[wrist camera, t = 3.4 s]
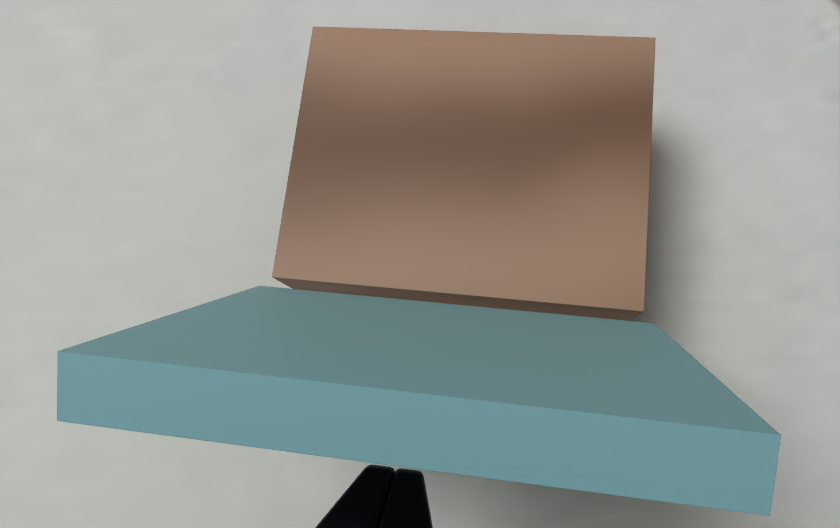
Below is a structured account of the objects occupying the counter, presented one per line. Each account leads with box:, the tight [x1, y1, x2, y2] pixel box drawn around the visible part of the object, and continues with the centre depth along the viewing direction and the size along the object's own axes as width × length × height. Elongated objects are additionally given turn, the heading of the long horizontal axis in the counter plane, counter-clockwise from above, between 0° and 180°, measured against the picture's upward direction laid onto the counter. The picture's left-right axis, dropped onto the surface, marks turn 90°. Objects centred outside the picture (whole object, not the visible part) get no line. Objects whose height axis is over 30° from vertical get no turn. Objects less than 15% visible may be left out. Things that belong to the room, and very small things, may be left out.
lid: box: [57, 286, 781, 516], centre depth 12 cm, size 7×9×1 cm
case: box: [272, 27, 655, 321], centre depth 18 cm, size 7×9×5 cm
